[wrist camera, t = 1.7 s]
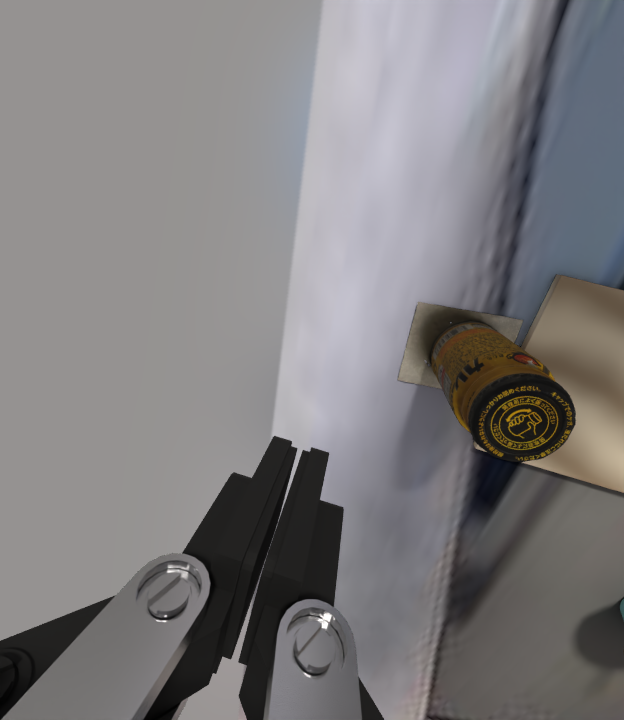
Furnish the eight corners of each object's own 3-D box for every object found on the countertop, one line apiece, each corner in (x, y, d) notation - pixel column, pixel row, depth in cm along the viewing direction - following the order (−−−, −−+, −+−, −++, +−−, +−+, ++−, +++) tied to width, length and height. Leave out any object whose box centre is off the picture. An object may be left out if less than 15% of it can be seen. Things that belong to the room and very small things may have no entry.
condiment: (492, 398, 30) (564, 490, 19) (397, 379, 31) (411, 455, 20) (522, 319, 27) (626, 370, 16) (417, 301, 28) (447, 337, 17)
